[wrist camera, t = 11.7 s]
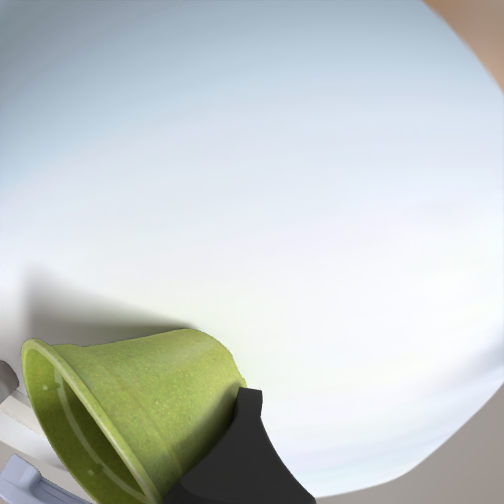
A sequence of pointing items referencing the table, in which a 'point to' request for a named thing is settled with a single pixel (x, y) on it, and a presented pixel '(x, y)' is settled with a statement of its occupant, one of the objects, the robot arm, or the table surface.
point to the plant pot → (132, 409)
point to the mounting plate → (22, 411)
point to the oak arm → (7, 381)
